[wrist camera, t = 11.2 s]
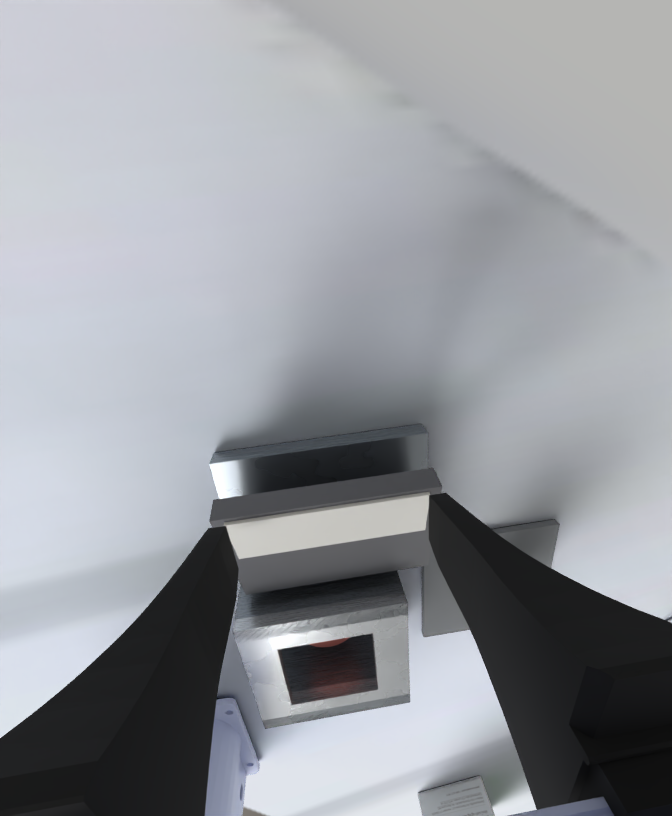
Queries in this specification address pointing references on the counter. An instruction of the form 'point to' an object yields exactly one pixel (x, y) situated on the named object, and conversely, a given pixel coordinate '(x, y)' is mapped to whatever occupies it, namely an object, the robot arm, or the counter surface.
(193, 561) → the robot arm
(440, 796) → the skincare box
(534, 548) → the mat
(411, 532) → the rocker
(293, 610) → the silver metal box
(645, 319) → the counter surface
